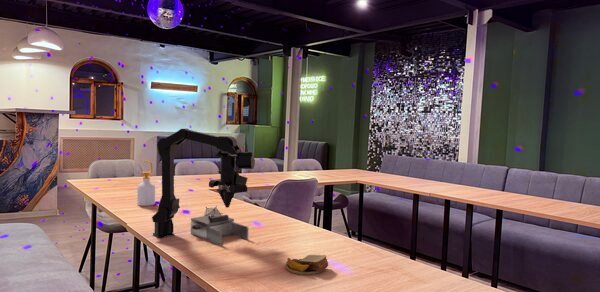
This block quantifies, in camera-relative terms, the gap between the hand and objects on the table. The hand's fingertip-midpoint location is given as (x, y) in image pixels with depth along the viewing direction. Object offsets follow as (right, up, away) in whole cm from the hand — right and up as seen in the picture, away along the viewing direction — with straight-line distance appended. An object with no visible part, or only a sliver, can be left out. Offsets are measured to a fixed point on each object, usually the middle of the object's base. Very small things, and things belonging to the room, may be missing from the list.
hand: (227, 207), depth 165 cm
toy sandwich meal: (+31, -16, -30) cm, 46 cm away
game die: (-11, -11, +24) cm, 29 cm away
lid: (-8, -7, +8) cm, 13 cm away
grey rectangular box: (-4, -13, +4) cm, 14 cm away
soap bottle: (-55, -8, +63) cm, 85 cm away
